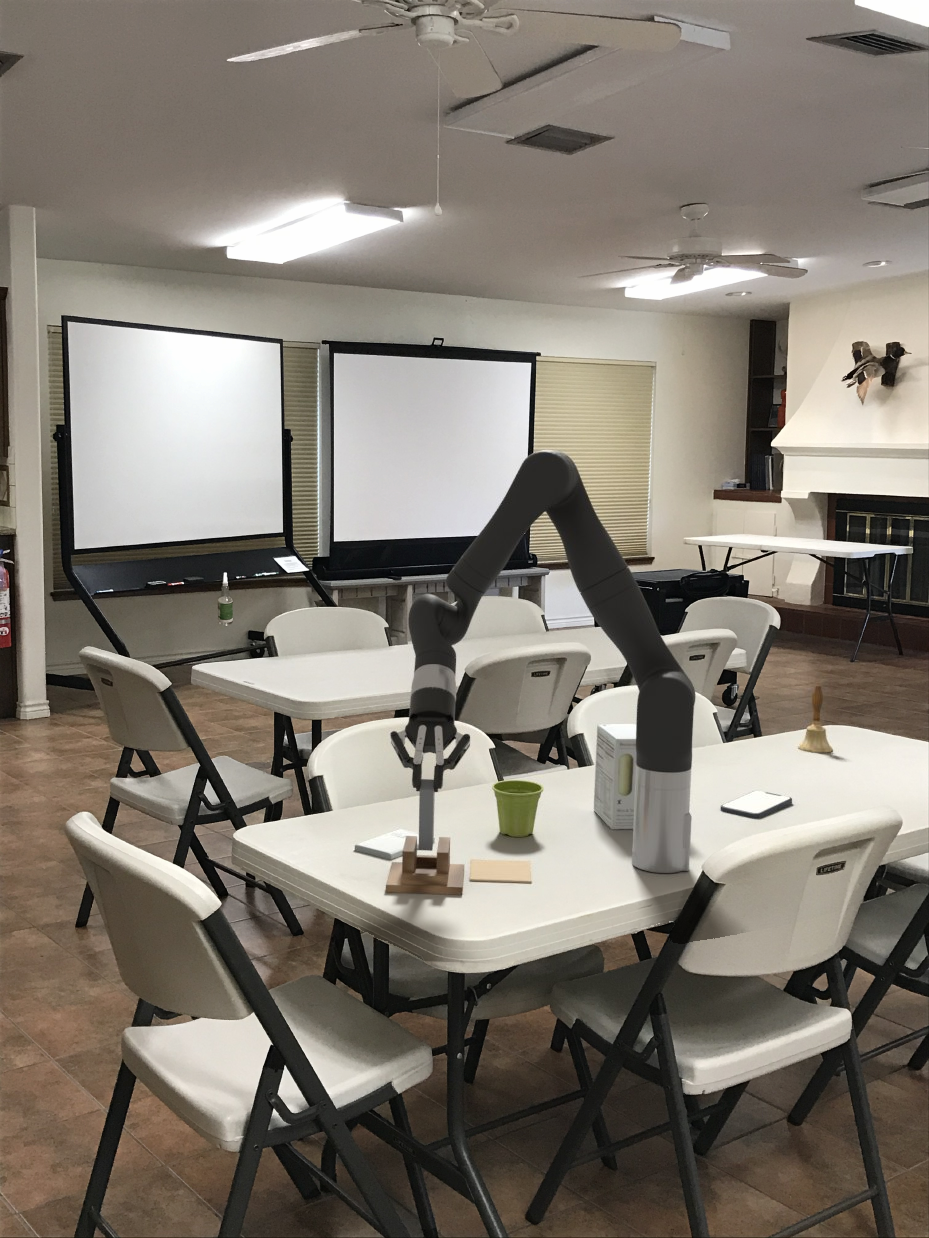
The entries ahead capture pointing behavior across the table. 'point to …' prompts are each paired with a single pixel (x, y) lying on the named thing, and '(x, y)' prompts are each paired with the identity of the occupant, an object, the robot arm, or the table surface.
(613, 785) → the supplement box
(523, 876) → the cork mat
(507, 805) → the plant pot
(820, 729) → the hand bell
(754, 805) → the phone case
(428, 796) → the grey rectangular block
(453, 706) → the robot arm
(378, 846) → the external hard drive
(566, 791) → the table surface
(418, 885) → the rack
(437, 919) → the table surface
